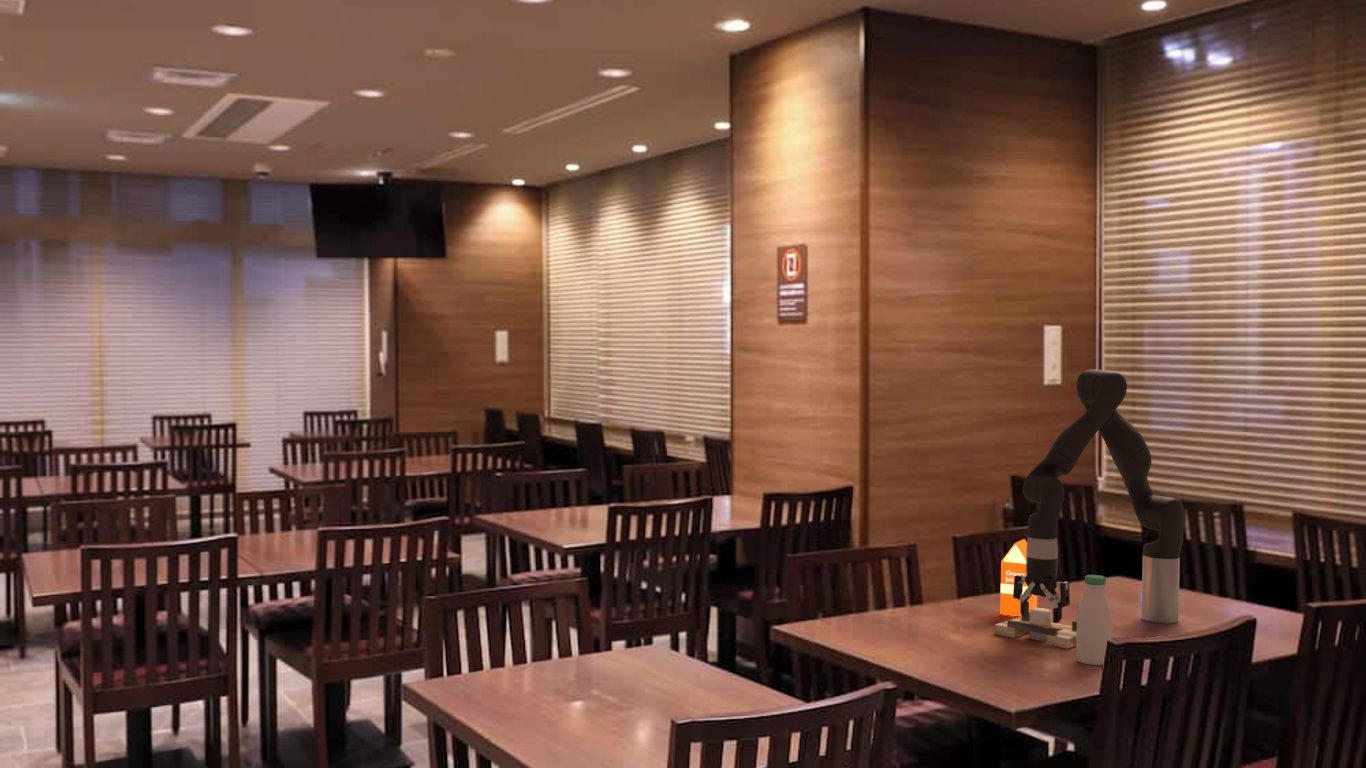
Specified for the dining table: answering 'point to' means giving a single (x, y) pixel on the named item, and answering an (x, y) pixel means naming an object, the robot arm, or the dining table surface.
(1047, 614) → the orange-banded white cylinder
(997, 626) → the shelf board
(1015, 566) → the orange juice
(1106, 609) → the milk bottle
